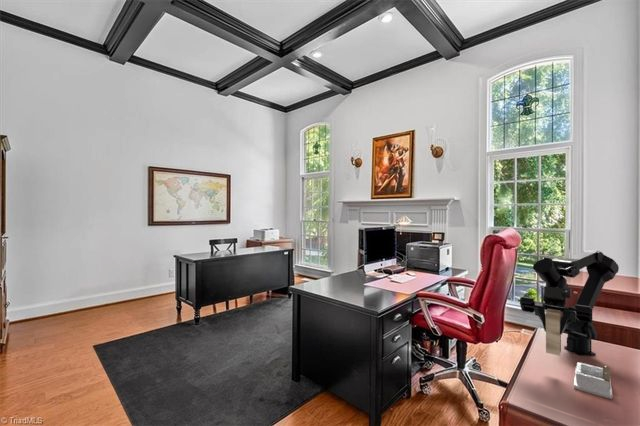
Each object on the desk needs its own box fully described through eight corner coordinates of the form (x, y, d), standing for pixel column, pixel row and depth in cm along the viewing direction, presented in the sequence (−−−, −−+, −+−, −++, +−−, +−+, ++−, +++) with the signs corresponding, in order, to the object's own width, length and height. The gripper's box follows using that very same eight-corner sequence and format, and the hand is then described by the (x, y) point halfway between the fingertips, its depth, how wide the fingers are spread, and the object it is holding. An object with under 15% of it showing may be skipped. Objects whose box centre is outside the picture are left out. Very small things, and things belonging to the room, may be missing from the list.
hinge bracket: (575, 369, 98) (575, 353, 98) (610, 378, 93) (609, 361, 93) (573, 388, 88) (573, 370, 88) (612, 399, 82) (612, 380, 82)
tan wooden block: (547, 347, 100) (547, 308, 100) (561, 350, 97) (560, 310, 97) (545, 352, 96) (545, 311, 96) (560, 355, 94) (559, 314, 94)
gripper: (520, 273, 106) (514, 312, 98) (591, 280, 94) (592, 326, 85) (524, 291, 112) (519, 329, 104) (592, 300, 99) (592, 345, 91)
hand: (552, 332), depth 96 cm, fingers closed on tan wooden block, 3 cm apart
